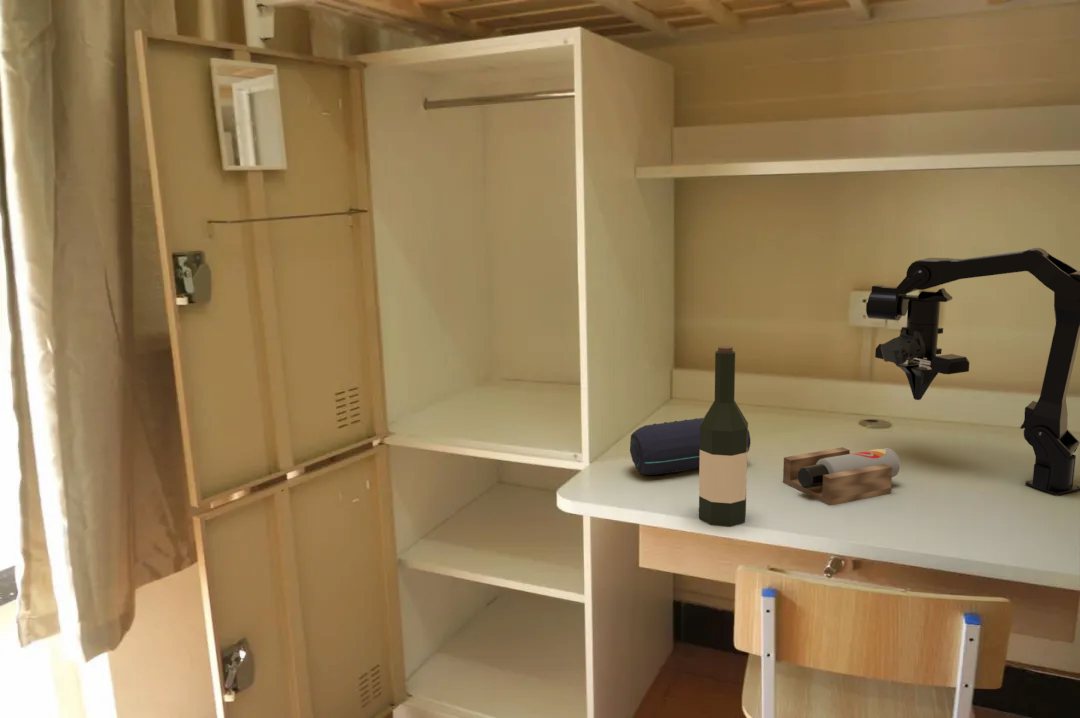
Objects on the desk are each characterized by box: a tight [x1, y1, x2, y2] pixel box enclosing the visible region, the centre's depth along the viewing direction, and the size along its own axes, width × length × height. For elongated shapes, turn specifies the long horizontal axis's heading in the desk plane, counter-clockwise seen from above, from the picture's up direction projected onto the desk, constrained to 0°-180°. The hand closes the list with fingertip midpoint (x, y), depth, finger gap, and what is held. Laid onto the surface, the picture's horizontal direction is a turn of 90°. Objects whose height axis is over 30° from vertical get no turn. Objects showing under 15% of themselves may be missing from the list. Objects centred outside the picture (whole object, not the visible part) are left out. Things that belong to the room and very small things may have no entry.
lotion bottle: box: [797, 447, 901, 488], centre depth 153 cm, size 6×6×20 cm
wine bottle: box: [698, 345, 749, 528], centre depth 140 cm, size 8×8×30 cm
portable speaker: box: [629, 417, 751, 476], centre depth 167 cm, size 25×10×10 cm, turn 109°
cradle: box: [782, 446, 893, 506], centre depth 155 cm, size 14×13×5 cm
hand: (917, 399), depth 166 cm, fingers closed
